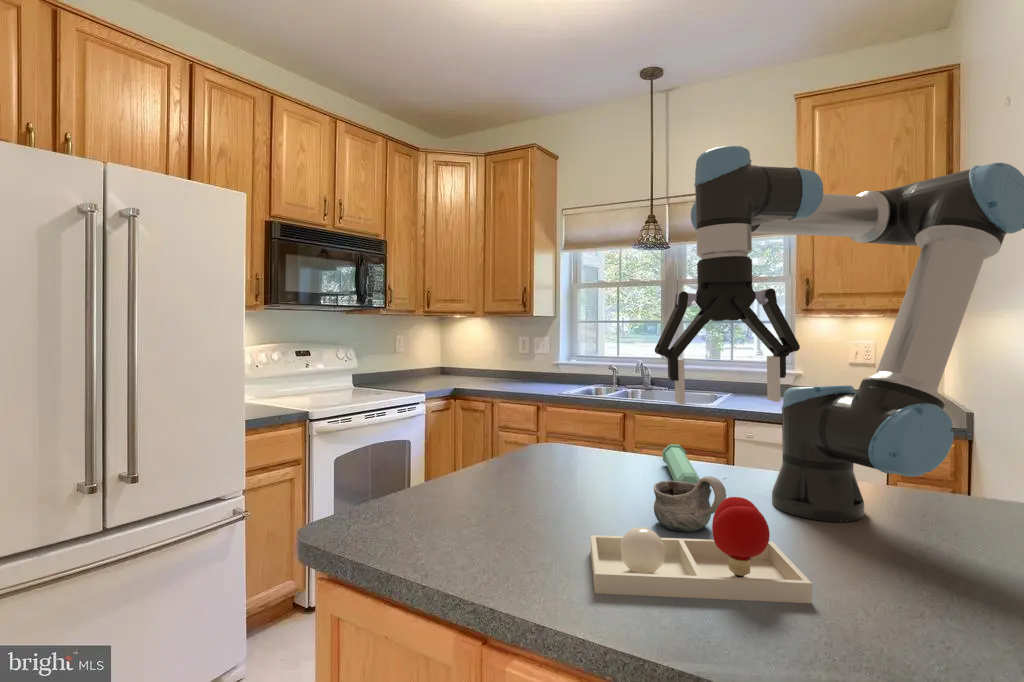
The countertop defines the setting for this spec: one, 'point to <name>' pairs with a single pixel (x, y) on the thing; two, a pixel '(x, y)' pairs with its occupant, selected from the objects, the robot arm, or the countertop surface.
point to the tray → (699, 573)
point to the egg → (642, 550)
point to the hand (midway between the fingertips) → (726, 401)
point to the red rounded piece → (740, 533)
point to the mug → (687, 503)
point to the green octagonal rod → (679, 464)
